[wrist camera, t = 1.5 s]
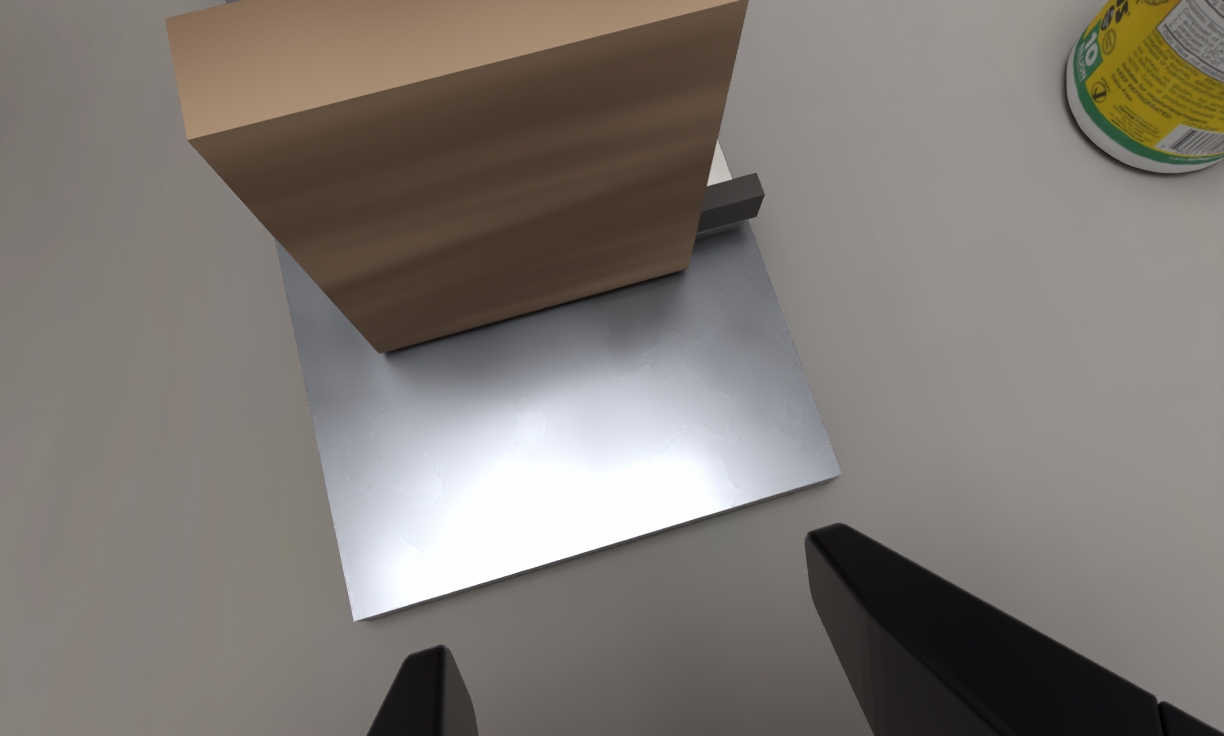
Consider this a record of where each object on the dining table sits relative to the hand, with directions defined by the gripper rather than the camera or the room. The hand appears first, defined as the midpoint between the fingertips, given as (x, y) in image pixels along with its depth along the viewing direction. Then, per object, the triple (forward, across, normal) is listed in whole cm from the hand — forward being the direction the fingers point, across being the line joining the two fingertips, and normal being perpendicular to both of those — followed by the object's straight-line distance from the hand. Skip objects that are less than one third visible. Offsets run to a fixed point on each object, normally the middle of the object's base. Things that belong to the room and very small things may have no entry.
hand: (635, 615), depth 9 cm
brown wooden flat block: (+14, -1, +2) cm, 14 cm away
